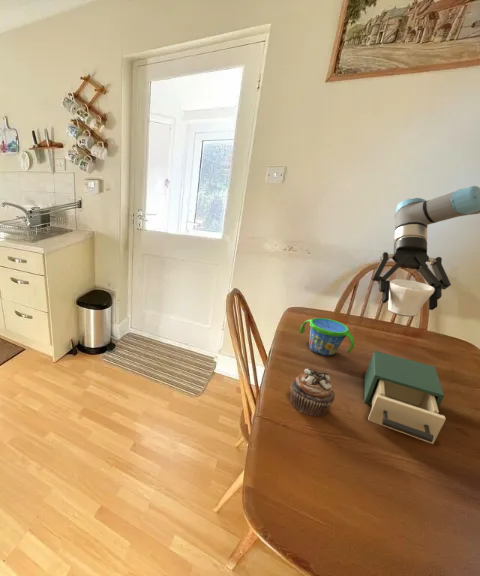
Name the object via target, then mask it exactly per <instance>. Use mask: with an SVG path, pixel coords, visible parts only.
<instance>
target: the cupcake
mask: <svg viewBox="0 0 480 576" xmlns="http://www.w3.org/2000/svg"><path fill="white" fill-rule="evenodd" d="M330 379H331V376H330V375H329V373H327V372H325V371H324V372H323V371H319V370H314V369H312V368H305V369H304V371H303V372H302V373H300V374H298V375H297V376H296V377H295V379H294V380H292V382H291V384H290V404H291V405H292V407H293V408H294V409H296V411H299V412H300V413H302V414H304V415H307V416H310V417H323V416H324V415H325V414H326V412H327V411H328V409H329V408H330V406H332V404H333V403H334V402H335V397H336V395H335V391H334V387H333V384H332V383H331V381H330Z"/></svg>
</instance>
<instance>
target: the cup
mask: <svg viewBox="0 0 480 576" xmlns="http://www.w3.org/2000/svg"><path fill="white" fill-rule="evenodd" d="M389 281H390V285H389V300H388V307H387V310H388V312H390V313H392V314H394V315H396V316H397V315H398V316H401V317H408V318H409V317H411V318H412V317H414V316H416V315H417V313H419V311H420V310H421V309H422V307H423V306H424V305H425V304H426V302H428V301H429V297H430V296H431V295H432V294H433V293H434V291H435V288H433V287H432V286H430V285H429V284H428V283H423V282H420V281H416V280H411V279H391V280H389Z"/></svg>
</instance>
